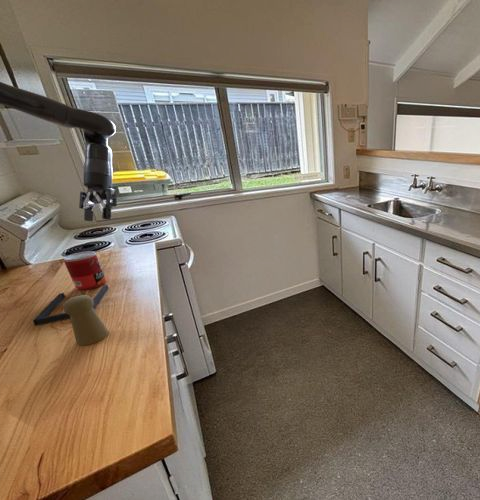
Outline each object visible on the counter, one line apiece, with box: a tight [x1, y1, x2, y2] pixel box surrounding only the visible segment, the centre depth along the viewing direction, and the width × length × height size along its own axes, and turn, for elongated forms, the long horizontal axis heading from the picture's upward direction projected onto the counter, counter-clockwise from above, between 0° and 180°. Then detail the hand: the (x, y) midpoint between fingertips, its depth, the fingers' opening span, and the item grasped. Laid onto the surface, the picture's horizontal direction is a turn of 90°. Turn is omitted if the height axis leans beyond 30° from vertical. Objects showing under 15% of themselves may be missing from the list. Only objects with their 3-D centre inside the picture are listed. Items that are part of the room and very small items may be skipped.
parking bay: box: [32, 284, 110, 326], centre depth 83 cm, size 12×16×2 cm
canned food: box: [63, 250, 107, 291], centre depth 93 cm, size 8×8×11 cm
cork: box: [62, 294, 110, 347], centre depth 67 cm, size 6×6×11 cm
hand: (97, 220), depth 98 cm, fingers open, 8 cm apart
